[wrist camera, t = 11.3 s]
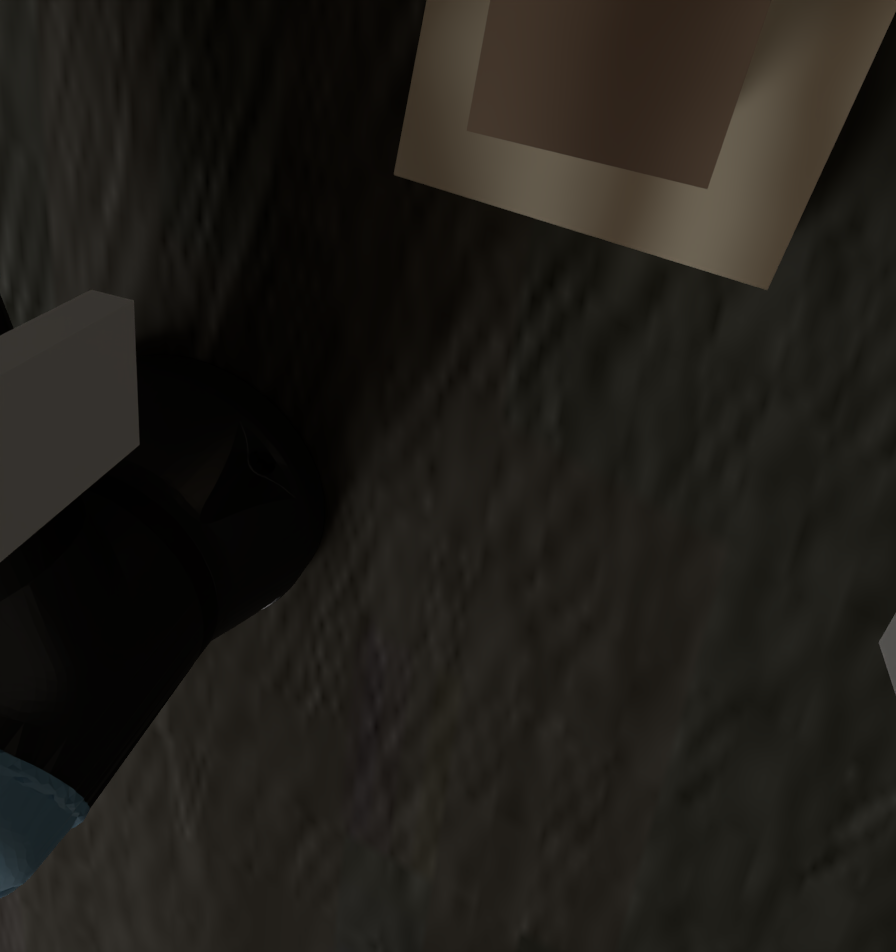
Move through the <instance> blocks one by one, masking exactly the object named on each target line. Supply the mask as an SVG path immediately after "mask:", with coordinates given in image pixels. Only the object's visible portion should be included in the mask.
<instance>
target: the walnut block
mask: <svg viewBox="0 0 896 952" xmlns="http://www.w3.org/2000/svg"><path fill="white" fill-rule="evenodd" d="M771 1H772V0H490V4H489V10H488V15H487V21H486V26H485V32H484V37H483V43H482V48H481V54H480V59H479V65H478V70H477V76H476V81H475V87H474V92H473V98H472V103H471V109H470V114H469V120H468V125H467V131H469V132H473V133H477V134H481V135H486V136H490V137H494V138H498V139H502V140H506V141H510V142H514V143H519V144H523V145H527V146H531V147H535V148H539V149H543V150H547V151H552V152H556V153H560V154H564V155H568V156H572V157H576V158H580V159H585V160H589V161H593V162H597V163H601V164H605V165H609V166H613V167H617V168H622V169H626V170H630V171H634V172H638V173H642V174H646V175H650V176H655V177H659V178H663V179H667V180H671V181H675V182H679V183H683V184H688V185H692V186H696V187H700V188H704V189H708V186H709V183H710V180H711V177H712V174H713V171H714V168H715V165H716V162H717V159H718V157H719V154H720V151H721V148H722V145H723V142H724V139H725V136H726V133H727V130H728V127H729V124H730V121H731V118H732V115H733V112H734V109H735V107H736V104H737V101H738V98H739V95H740V92H741V89H742V86H743V83H744V80H745V77H746V74H747V71H748V68H749V65H750V62H751V59H752V56H753V54H754V51H755V48H756V45H757V42H758V39H759V36H760V33H761V30H762V27H763V24H764V21H765V18H766V15H767V12H768V9H769V6H770V3H771Z"/></svg>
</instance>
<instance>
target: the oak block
mask: <svg viewBox="0 0 896 952" xmlns="http://www.w3.org/2000/svg"><path fill="white" fill-rule="evenodd" d="M489 4H490V0H427V1H426V6H425V12H424V17H423V22H422V27H421V33H420V38H419V43H418V49H417V54H416V59H415V65H414V70H413V75H412V80H411V86H410V91H409V96H408V102H407V107H406V112H405V117H404V123H403V128H402V133H401V139H400V144H399V149H398V154H397V160H396V165H395V170H394V175H396V176H399V177H402V178H405V179H409V180H412V181H415V182H418V183H422V184H425V185H428V186H431V187H435V188H438V189H441V190H444V191H447V192H451V193H454V194H457V195H460V196H464V197H467V198H470V199H473V200H477V201H480V202H483V203H486V204H490V205H493V206H496V207H499V208H503V209H506V210H509V211H512V212H516V213H519V214H522V215H525V216H529V217H532V218H535V219H538V220H542V221H545V222H548V223H551V224H555V225H558V226H561V227H564V228H567V229H571V230H574V231H577V232H580V233H584V234H587V235H590V236H593V237H597V238H600V239H603V240H606V241H610V242H613V243H616V244H619V245H623V246H626V247H629V248H632V249H636V250H639V251H642V252H645V253H649V254H652V255H655V256H658V257H662V258H665V259H668V260H671V261H675V262H678V263H681V264H684V265H688V266H691V267H694V268H697V269H700V270H704V271H707V272H710V273H713V274H717V275H720V276H723V277H726V278H730V279H733V280H736V281H739V282H743V283H746V284H749V285H752V286H756V287H759V288H762V289H765V290H768V287H769V285H770V283H771V281H772V279H773V277H774V274H775V272H776V270H777V268H778V266H779V264H780V261H781V259H782V257H783V255H784V253H785V251H786V248H787V246H788V244H789V242H790V240H791V237H792V235H793V233H794V231H795V229H796V227H797V224H798V222H799V220H800V218H801V216H802V214H803V211H804V209H805V207H806V205H807V203H808V201H809V198H810V196H811V194H812V192H813V190H814V188H815V185H816V183H817V181H818V179H819V177H820V175H821V172H822V170H823V168H824V166H825V164H826V162H827V159H828V157H829V155H830V153H831V151H832V149H833V146H834V144H835V142H836V140H837V138H838V136H839V133H840V131H841V129H842V127H843V125H844V123H845V120H846V118H847V116H848V114H849V112H850V110H851V107H852V105H853V103H854V101H855V99H856V96H857V94H858V92H859V90H860V88H861V86H862V83H863V81H864V79H865V77H866V75H867V73H868V70H869V68H870V66H871V64H872V62H873V60H874V57H875V55H876V53H877V51H878V49H879V47H880V44H881V42H882V40H883V38H884V36H885V34H886V31H887V29H888V27H889V25H890V23H891V21H892V18H893V16H894V14H895V12H896V0H772V1H771V3H770V6H769V9H768V12H767V15H766V18H765V21H764V24H763V27H762V30H761V33H760V36H759V39H758V42H757V45H756V48H755V51H754V54H753V56H752V59H751V62H750V65H749V68H748V71H747V74H746V77H745V80H744V83H743V86H742V89H741V92H740V95H739V98H738V101H737V104H736V107H735V109H734V112H733V115H732V118H731V121H730V124H729V127H728V130H727V133H726V136H725V139H724V142H723V145H722V148H721V151H720V154H719V157H718V159H717V162H716V165H715V168H714V171H713V174H712V177H711V180H710V183H709V186H708V189H704V188H700V187H696V186H692V185H688V184H683V183H679V182H675V181H671V180H667V179H663V178H659V177H655V176H650V175H646V174H642V173H638V172H634V171H630V170H626V169H622V168H617V167H613V166H609V165H605V164H601V163H597V162H593V161H589V160H585V159H580V158H576V157H572V156H568V155H564V154H560V153H556V152H552V151H547V150H543V149H539V148H535V147H531V146H527V145H523V144H519V143H514V142H510V141H506V140H502V139H498V138H494V137H490V136H486V135H481V134H477V133H473V132H469V131H467V125H468V120H469V114H470V109H471V103H472V98H473V92H474V87H475V81H476V76H477V70H478V65H479V59H480V54H481V48H482V43H483V37H484V32H485V26H486V21H487V15H488V10H489Z"/></svg>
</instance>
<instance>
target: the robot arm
mask: <svg viewBox="0 0 896 952" xmlns="http://www.w3.org/2000/svg"><path fill="white" fill-rule="evenodd" d="M324 516H325V508H324V496H323V490H322V486H321V482H320V478H319V475H318V472H317V469H316V466H315V464H314V462H313V459H312V457H311V455H310V453H309V451H308V449H307V447H306V446H305V444H304V442H303V441H302V439H301V437H300V436H299V434H298V433H297V432H296V430H295V429H294V427H293V426H292V425H291V424H290V422H289V421H288V420H287V419H286V418H285V416H284V415H283V414H282V413H281V412H280V411H279V410H278V409H277V408H276V407H275V406H274V405H273V404H272V403H271V402H270V401H269V400H268V399H267V398H265V397H264V396H263V395H262V394H261V393H259V392H258V391H257V390H255V389H254V388H253V387H251V386H250V385H248V384H247V383H246V382H244V381H242V380H241V379H239V378H237V377H236V376H234V375H232V374H230V373H228V372H226V371H224V370H222V369H220V368H218V367H215V366H213V365H210V364H207V363H205V362H202V361H198V360H195V359H191V358H186V357H181V356H174V355H147V356H140V357H136V342H135V318H134V300H131V299H127V298H123V297H118V296H114V295H110V294H106V293H102V292H98V291H94V290H90V291H88V292H86V293H84V294H82V295H80V296H78V297H76V298H74V299H72V300H70V301H68V302H66V303H64V304H62V305H60V306H58V307H56V308H54V309H52V310H50V311H48V312H46V313H44V314H42V315H40V316H38V317H36V318H34V319H32V320H30V321H28V322H26V323H24V324H22V325H20V326H18V327H16V328H13V326H12V323H11V321H10V318H9V315H8V313H7V310H6V308H5V305H4V303H3V300H2V298H1V295H0V898H2V897H4V896H6V895H8V894H10V893H11V892H13V891H14V890H16V889H17V888H18V887H19V886H20V885H22V884H24V883H25V882H26V881H27V880H28V879H29V878H30V877H31V876H32V875H33V873H34V872H35V871H36V870H37V869H38V867H39V866H40V865H41V864H42V863H43V861H44V860H45V859H46V858H47V856H48V855H49V854H50V853H51V852H52V850H53V849H54V848H55V847H56V846H57V844H58V843H59V842H60V841H61V840H62V838H63V837H64V836H65V835H66V834H67V833H68V831H69V830H70V829H71V828H74V827H76V826H77V825H78V824H80V823H81V822H83V820H84V819H85V817H86V815H87V814H88V812H89V810H90V808H91V806H92V805H93V804H94V802H95V801H96V799H97V798H98V797H99V795H100V794H101V793H102V791H103V790H104V788H105V787H106V786H107V784H108V783H109V781H110V780H111V779H112V777H113V776H114V774H115V773H116V772H117V770H118V769H119V767H120V766H121V765H122V763H123V762H124V760H125V759H126V758H127V756H128V755H129V754H130V752H131V751H132V749H133V748H134V747H135V745H136V744H137V742H138V741H139V740H140V738H141V737H142V735H143V734H144V733H145V731H146V730H147V728H148V727H149V726H150V724H151V723H152V721H153V720H154V719H155V717H156V716H157V715H158V713H159V712H160V710H161V709H162V708H163V706H164V705H165V703H166V702H167V701H168V699H169V698H170V696H171V695H172V694H173V692H174V691H175V689H176V688H177V687H178V685H179V684H180V682H181V681H182V680H183V678H184V677H185V676H186V674H187V673H188V671H189V670H190V669H191V667H192V666H193V664H194V663H195V661H196V660H197V659H198V657H199V656H200V655H201V653H202V652H203V651H204V649H205V648H206V647H207V645H208V644H209V643H210V642H211V641H212V640H214V639H215V638H217V637H219V636H220V635H222V634H224V633H225V632H227V631H229V630H230V629H232V628H234V627H235V626H237V625H238V624H240V623H242V622H243V621H245V620H246V619H248V618H250V617H251V616H253V615H254V614H256V613H257V612H259V611H260V610H262V609H264V608H266V607H268V606H270V605H271V604H273V603H274V602H276V601H277V600H278V599H280V598H281V597H282V596H283V595H284V594H285V593H286V592H287V591H288V590H289V589H290V588H291V587H292V586H293V585H294V584H295V582H296V581H297V579H298V578H299V577H300V575H301V574H302V572H303V571H304V569H305V568H306V566H307V565H308V563H309V562H310V560H311V559H312V557H313V556H314V554H315V552H316V550H317V548H318V545H319V543H320V540H321V536H322V532H323V527H324ZM879 645H880V648H881V651H882V654H883V657H884V660H885V663H886V666H887V669H888V672H889V675H890V678H891V681H892V685H893V688H894V691H895V694H896V614H895V615H894V617H893V619H892V621H891V622H890V624H889V626H888V627H887V629H886V631H885V633H884V634H883V636H882V638H881V640H880V641H879Z"/></svg>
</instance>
